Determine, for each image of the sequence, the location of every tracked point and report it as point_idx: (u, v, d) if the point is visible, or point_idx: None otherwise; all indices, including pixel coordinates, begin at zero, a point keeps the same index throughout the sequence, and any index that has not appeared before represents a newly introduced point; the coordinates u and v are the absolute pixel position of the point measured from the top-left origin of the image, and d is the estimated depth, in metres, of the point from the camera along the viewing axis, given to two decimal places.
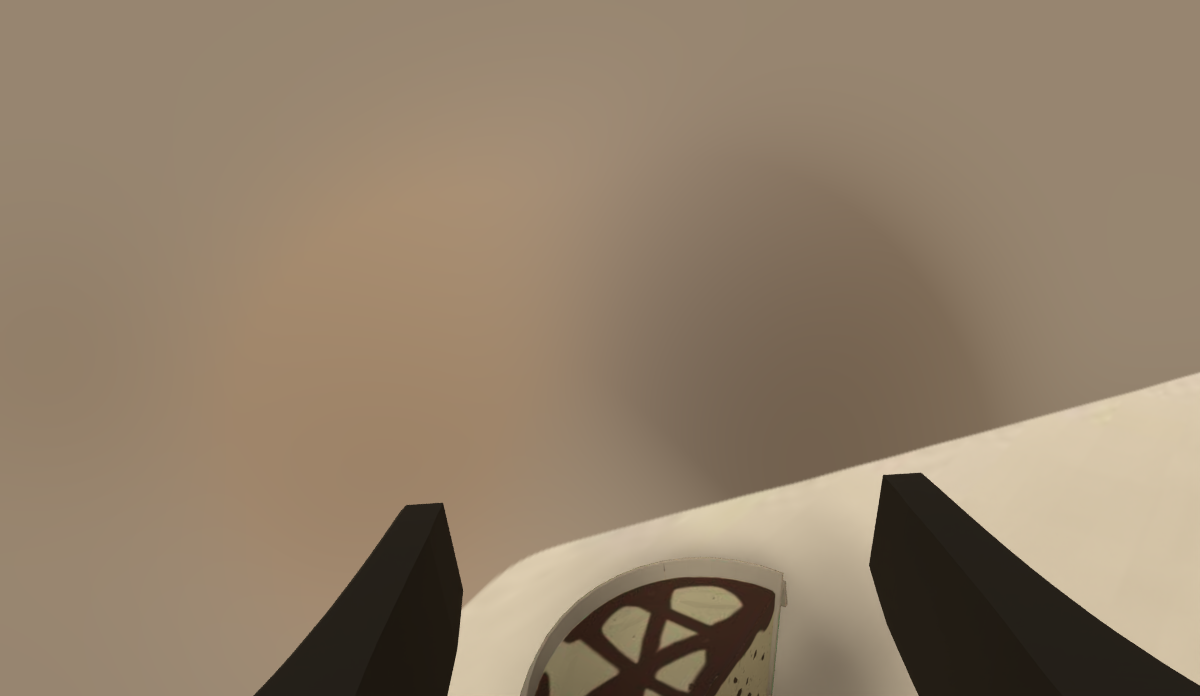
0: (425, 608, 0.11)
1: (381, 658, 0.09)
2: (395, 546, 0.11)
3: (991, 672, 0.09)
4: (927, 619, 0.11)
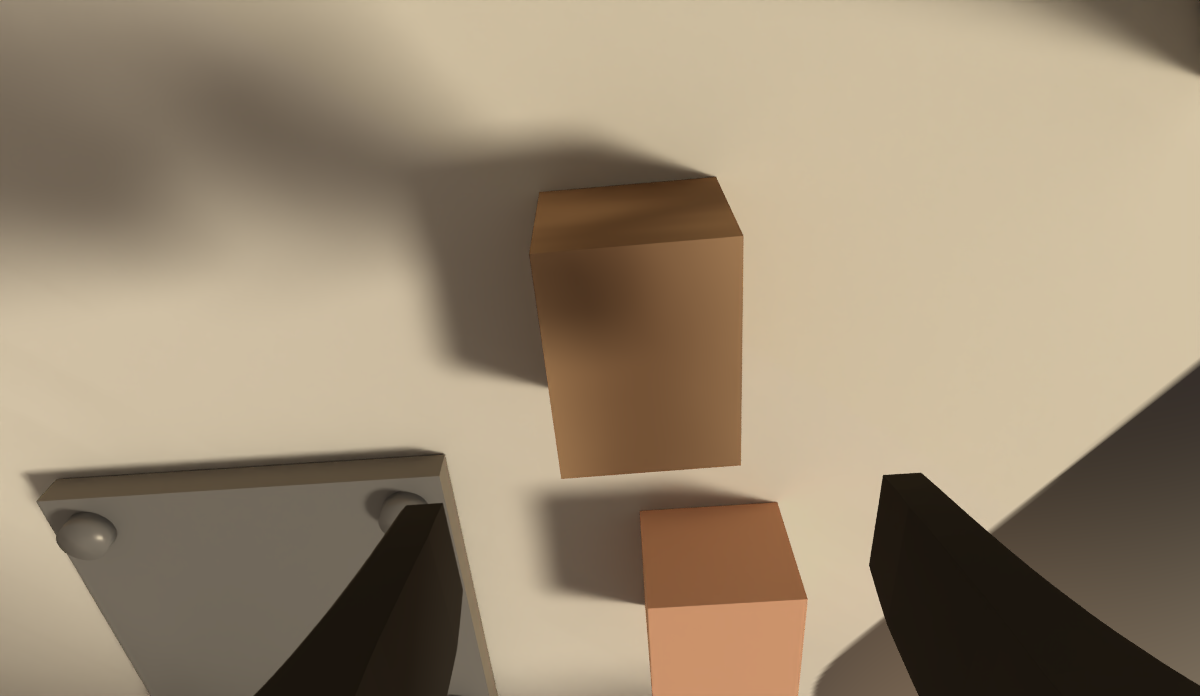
0: (425, 608, 0.11)
1: (381, 658, 0.09)
2: (395, 546, 0.11)
3: (991, 672, 0.09)
4: (927, 619, 0.11)
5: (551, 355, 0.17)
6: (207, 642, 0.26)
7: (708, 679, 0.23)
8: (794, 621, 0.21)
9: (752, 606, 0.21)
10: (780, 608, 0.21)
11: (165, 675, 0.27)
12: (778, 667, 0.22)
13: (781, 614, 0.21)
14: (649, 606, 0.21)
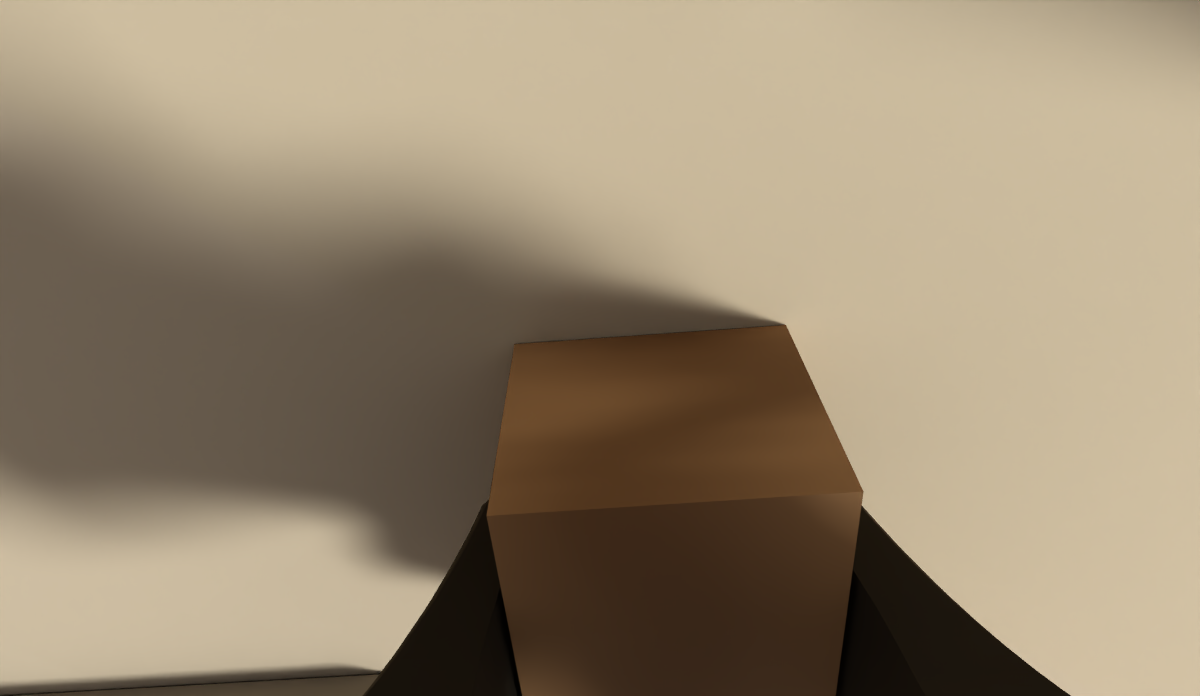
0: None
1: (488, 652, 0.09)
2: (485, 540, 0.11)
3: (880, 678, 0.09)
4: None
5: (526, 652, 0.10)
6: None
7: None
8: None
9: None
10: None
11: None
12: None
13: None
14: None
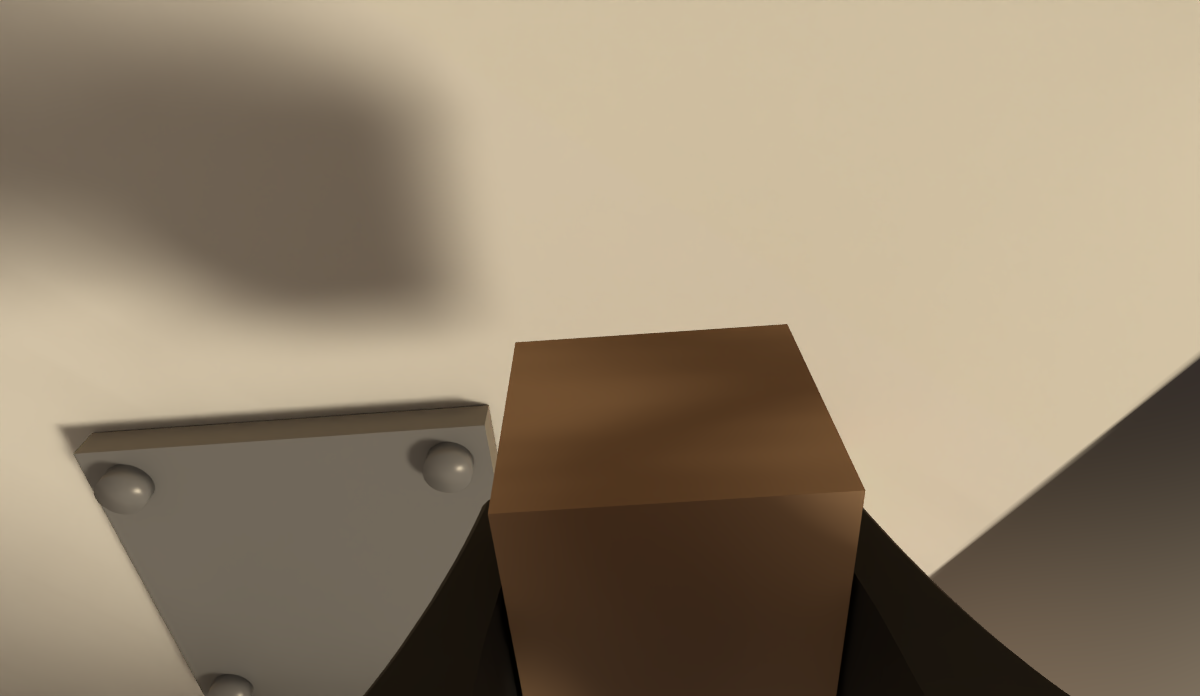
0: None
1: (488, 652, 0.09)
2: (486, 540, 0.11)
3: (880, 678, 0.09)
4: None
5: (527, 651, 0.10)
6: (244, 602, 0.25)
7: None
8: None
9: None
10: None
11: (200, 637, 0.26)
12: None
13: None
14: None
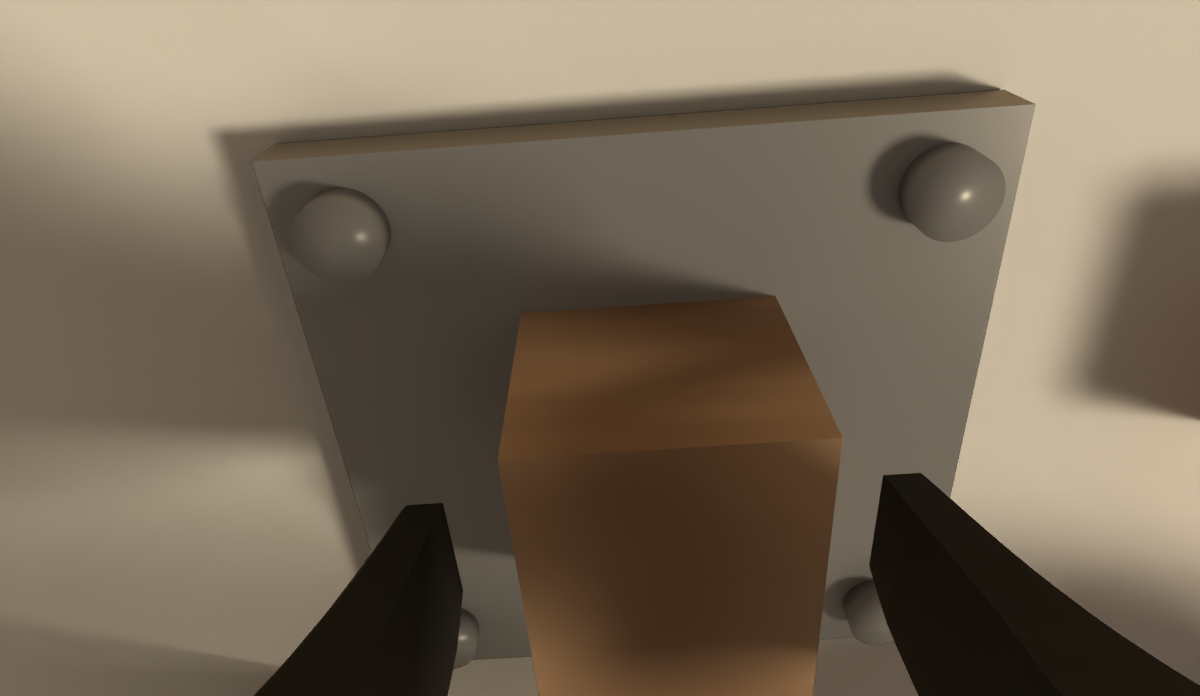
0: (425, 608, 0.11)
1: (381, 658, 0.09)
2: (395, 546, 0.11)
3: (991, 672, 0.09)
4: (927, 619, 0.11)
5: (532, 592, 0.11)
6: (499, 476, 0.15)
7: None
8: None
9: None
10: None
11: None
12: None
13: None
14: None
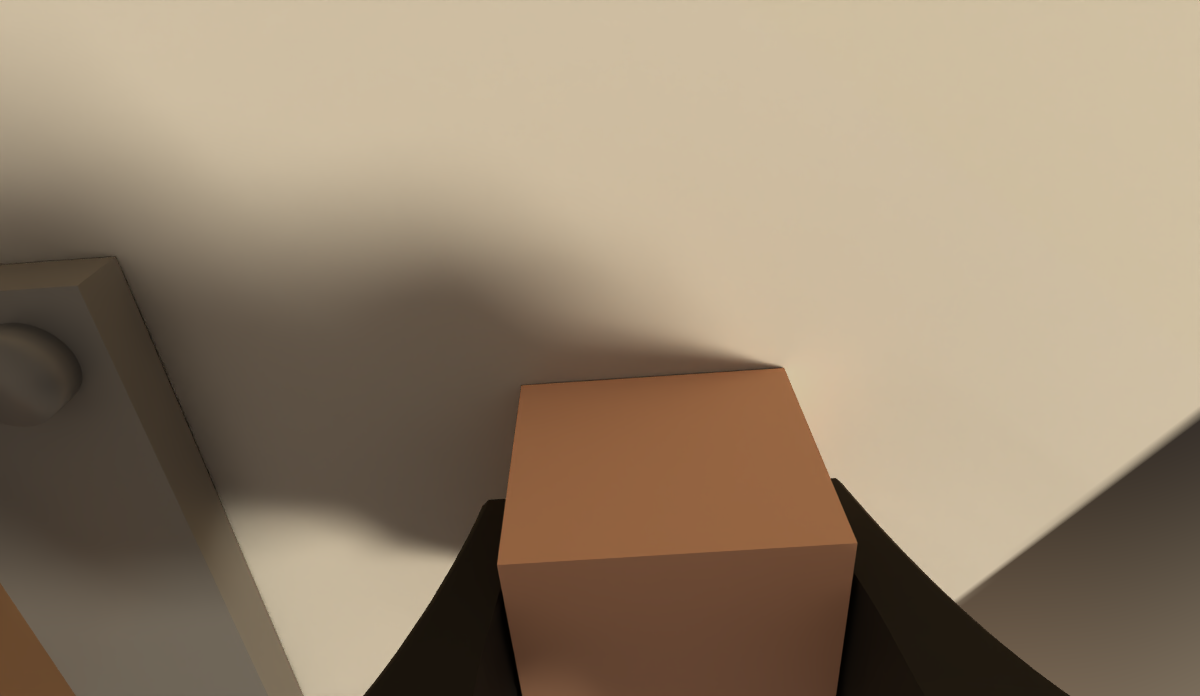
0: None
1: (488, 652, 0.09)
2: (486, 540, 0.11)
3: (880, 678, 0.09)
4: None
5: None
6: None
7: None
8: (825, 595, 0.10)
9: (732, 559, 0.09)
10: (795, 564, 0.09)
11: None
12: (788, 694, 0.11)
13: (797, 579, 0.10)
14: (501, 560, 0.09)
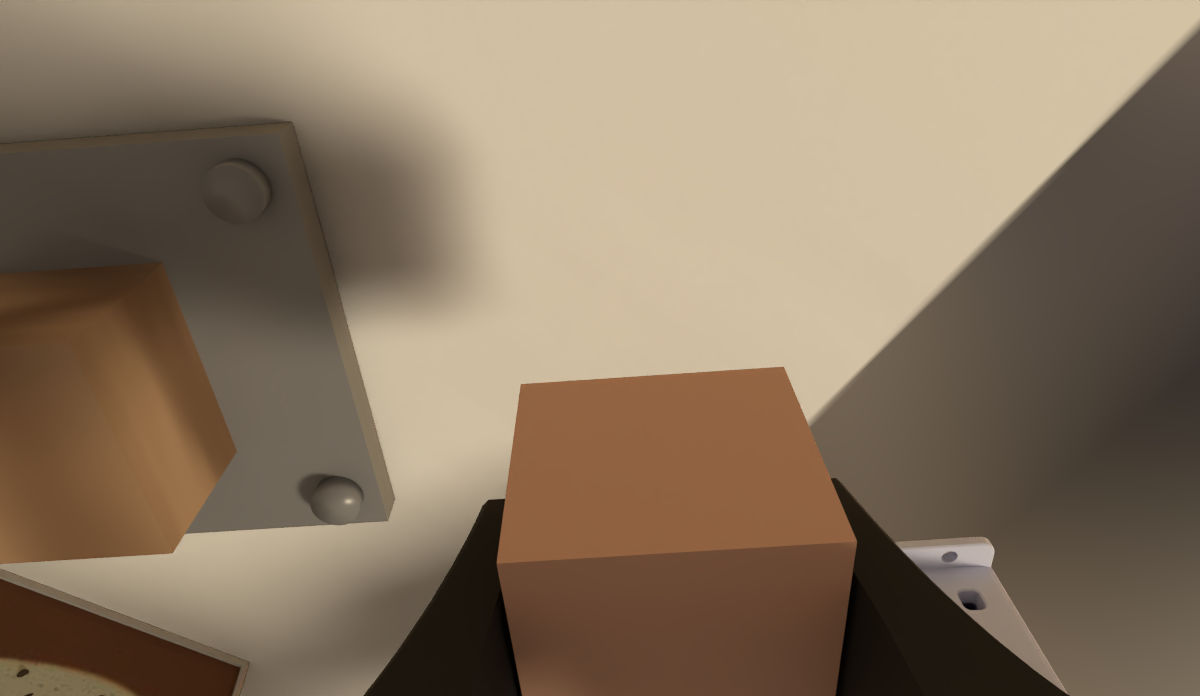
0: None
1: (488, 652, 0.09)
2: (486, 540, 0.11)
3: (880, 678, 0.09)
4: None
5: None
6: None
7: None
8: (825, 593, 0.10)
9: (732, 558, 0.09)
10: (795, 562, 0.09)
11: None
12: (789, 693, 0.11)
13: (797, 577, 0.10)
14: (501, 558, 0.09)
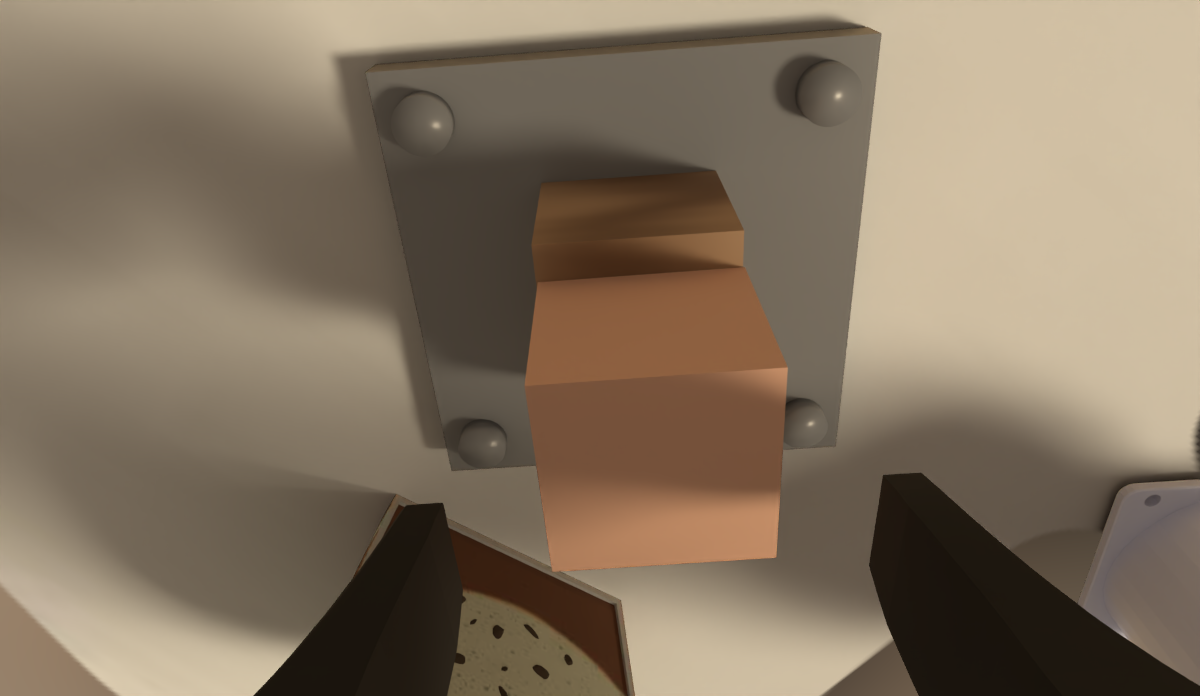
0: (425, 608, 0.11)
1: (381, 658, 0.09)
2: (395, 546, 0.11)
3: (991, 672, 0.09)
4: (927, 618, 0.11)
5: None
6: (524, 311, 0.21)
7: (634, 521, 0.14)
8: (766, 411, 0.13)
9: (697, 381, 0.13)
10: (743, 385, 0.13)
11: (460, 363, 0.22)
12: (743, 500, 0.14)
13: (745, 398, 0.13)
14: (527, 383, 0.13)
